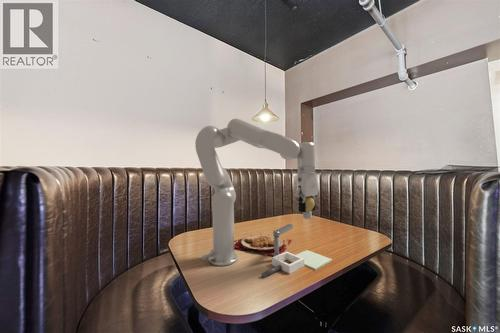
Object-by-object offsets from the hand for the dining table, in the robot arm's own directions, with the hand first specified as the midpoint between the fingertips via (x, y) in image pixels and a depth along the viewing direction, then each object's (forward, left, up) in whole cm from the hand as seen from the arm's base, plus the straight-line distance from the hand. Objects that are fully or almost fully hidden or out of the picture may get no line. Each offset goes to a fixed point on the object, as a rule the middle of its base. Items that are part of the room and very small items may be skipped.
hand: (307, 210), depth 86 cm
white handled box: (-15, +4, -22) cm, 27 cm away
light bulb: (0, 0, -4) cm, 4 cm away
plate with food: (-2, +27, -23) cm, 35 cm away
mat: (+2, 0, -22) cm, 22 cm away
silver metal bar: (-4, +11, -11) cm, 16 cm away
